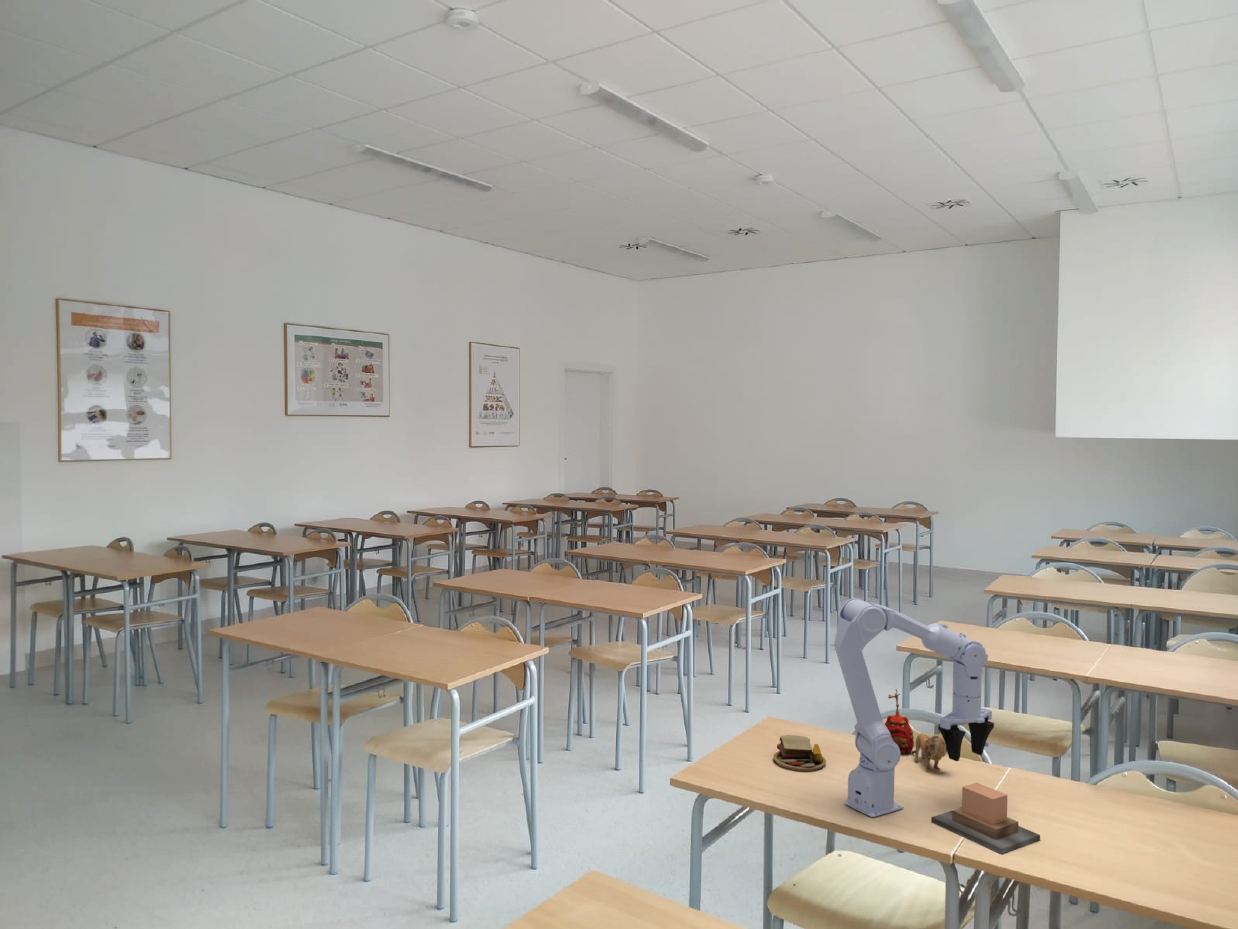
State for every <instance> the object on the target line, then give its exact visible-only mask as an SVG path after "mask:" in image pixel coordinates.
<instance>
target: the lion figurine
mask: <svg viewBox="0 0 1238 929" xmlns="http://www.w3.org/2000/svg"><path fill="white" fill-rule="evenodd" d="M920 750H921V753H919V752H920ZM911 754H914V760H913V762H915V763H919V762H920V759H919V754H920V757H921V758H922V759H924V760H925V772H926V771H927V773H930V772H931V771H932V770H931V765H930V764H931V760H932V761H934V762H933V769H934V771H936V770H940V771H941V768H940V767H939V766H938V765H939V761H941V760H942V758H944V757H945V756H946V754H948V751H947V747H946V744H945V741H944V739H943V736H942V735H935V736H932V737H929V736H928V735H927V734H926V733H919V734H917V736H916V739H915V750H912V752H911Z"/></svg>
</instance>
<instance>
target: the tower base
mask: <svg viewBox="0 0 1238 929" xmlns="http://www.w3.org/2000/svg"><path fill="white" fill-rule="evenodd" d="M930 820H931V822H932V823H933V824H935V825H937V826H938V827H939V826H940V827H942V828H944V829H946V830H949V831H950V832H953V833H955V834H957V835H958V836H961V837H964V838H966V839H967V840H970V841H972V842H974V843H976V844H979V845H980V846H983V847H985V848H987V849H989V850H992V851H994V852H996V853H998V854H1000V855H1003V854H1006V853H1008V852H1011V851H1014V850H1017V849H1019V848H1022V847H1025V846H1028V845H1030V844H1033V843H1037V842H1039V841H1041V834H1039V833H1036V832H1035V831H1031V830H1029V829H1027V828H1024V827H1022V826H1020V825H1019V820H1018V821H1017V820H1016V819H1013V818H1010V817H1009V816H1007V820H1005V821H1002V822H999V823H996V824H993V825H992V824H990V823H988V822H985V821H983V820H981V819H978V818H976V817H974V816H972V815H969V814H967V813H965V812H962V806H961V807H958V808H955V809H952V810H950V811H946V812H943V813H939V814H937V815H933V816H931V819H930Z"/></svg>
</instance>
